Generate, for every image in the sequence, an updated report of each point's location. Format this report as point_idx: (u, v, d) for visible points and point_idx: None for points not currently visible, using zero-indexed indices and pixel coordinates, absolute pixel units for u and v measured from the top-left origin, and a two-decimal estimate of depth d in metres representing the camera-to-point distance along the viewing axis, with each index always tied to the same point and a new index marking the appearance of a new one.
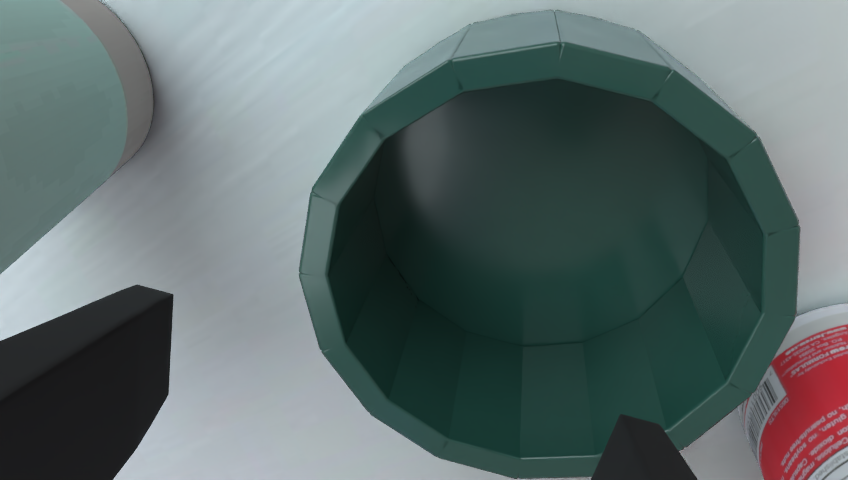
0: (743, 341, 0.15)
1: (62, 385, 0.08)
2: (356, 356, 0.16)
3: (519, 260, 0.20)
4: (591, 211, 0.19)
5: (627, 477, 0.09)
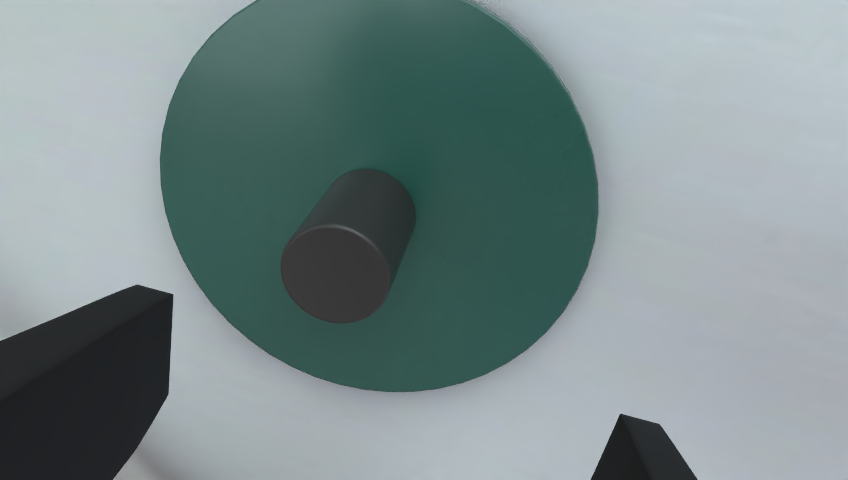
0: None
1: (62, 385, 0.08)
2: None
3: None
4: None
5: (627, 477, 0.09)
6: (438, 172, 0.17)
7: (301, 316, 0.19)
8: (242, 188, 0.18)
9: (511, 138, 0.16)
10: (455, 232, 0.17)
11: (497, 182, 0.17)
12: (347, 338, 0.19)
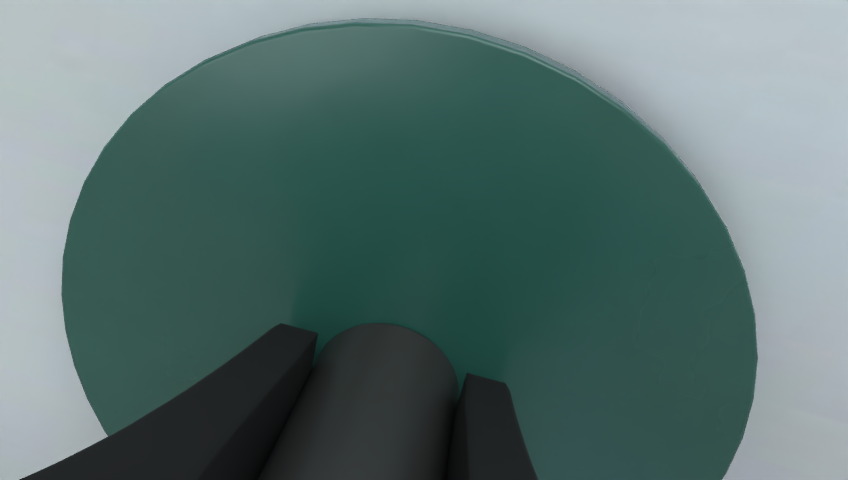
0: None
1: (247, 436, 0.08)
2: None
3: None
4: None
5: (457, 431, 0.09)
6: (497, 331, 0.10)
7: None
8: (189, 341, 0.11)
9: (621, 287, 0.10)
10: (520, 416, 0.11)
11: (592, 350, 0.10)
12: None
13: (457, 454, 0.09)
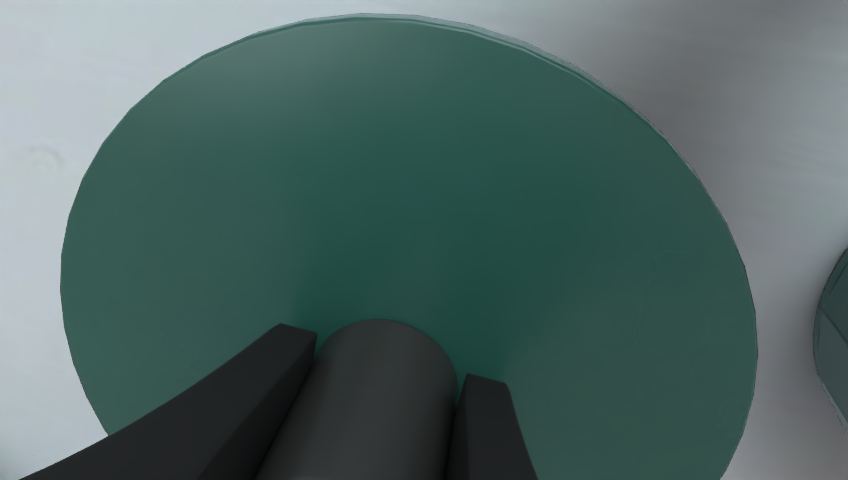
0: None
1: (247, 435, 0.08)
2: None
3: None
4: None
5: (457, 431, 0.09)
6: (497, 327, 0.10)
7: None
8: (188, 337, 0.11)
9: (620, 283, 0.10)
10: (519, 413, 0.11)
11: (592, 346, 0.10)
12: None
13: (457, 454, 0.09)
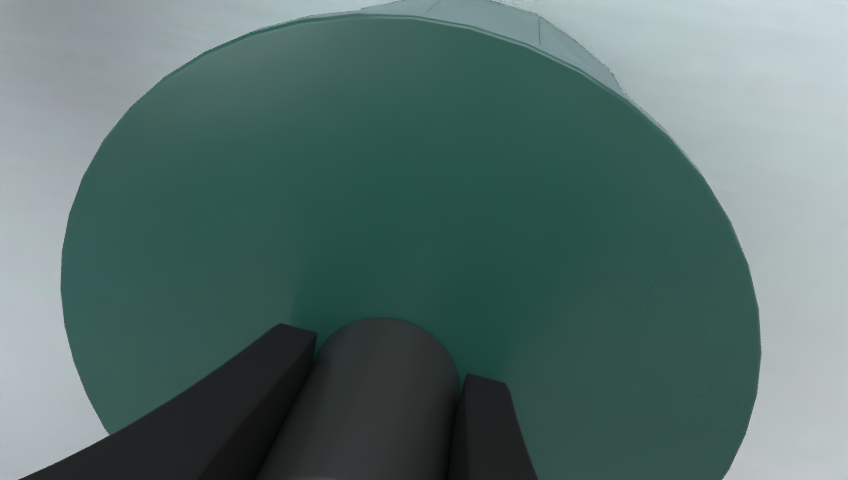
0: None
1: (247, 436, 0.08)
2: None
3: None
4: None
5: (457, 431, 0.09)
6: (499, 326, 0.10)
7: None
8: (189, 336, 0.11)
9: (623, 281, 0.10)
10: (522, 411, 0.11)
11: (595, 344, 0.10)
12: None
13: (457, 454, 0.09)
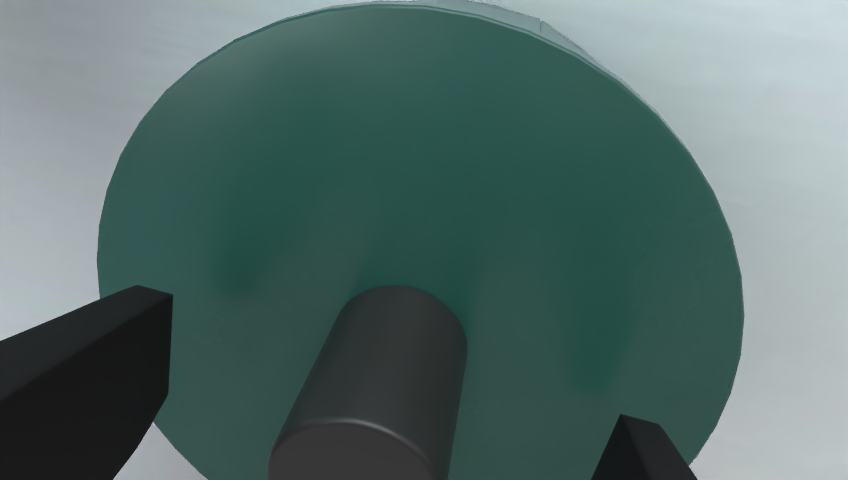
0: None
1: (62, 385, 0.08)
2: None
3: None
4: None
5: (627, 477, 0.09)
6: (503, 292, 0.11)
7: None
8: (216, 304, 0.12)
9: (617, 249, 0.11)
10: (524, 373, 0.12)
11: (591, 309, 0.11)
12: None
13: None
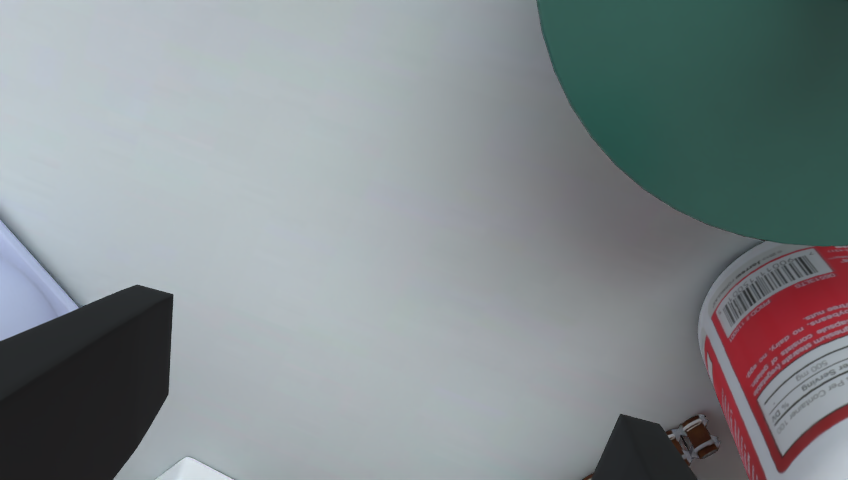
0: None
1: (62, 385, 0.08)
2: None
3: None
4: None
5: (627, 477, 0.09)
6: None
7: (717, 123, 0.12)
8: None
9: None
10: None
11: None
12: (783, 158, 0.13)
13: None
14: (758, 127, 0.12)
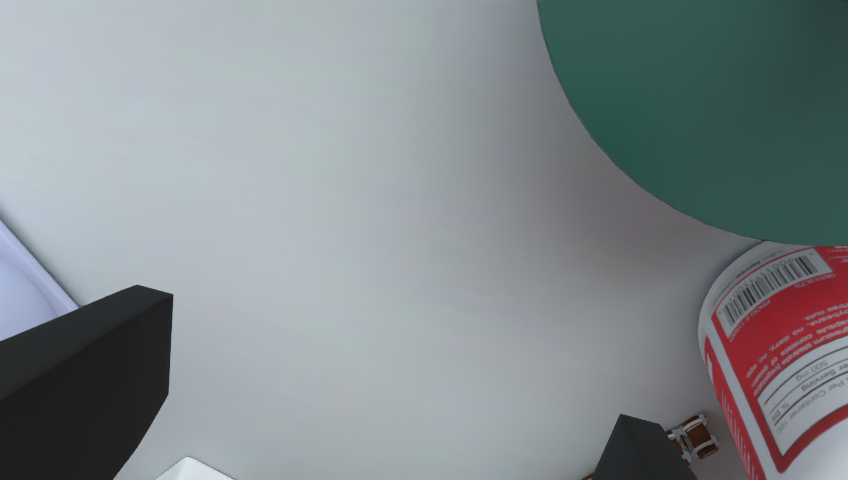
0: None
1: (62, 385, 0.08)
2: None
3: None
4: None
5: (627, 477, 0.09)
6: None
7: (717, 123, 0.12)
8: None
9: None
10: None
11: None
12: (783, 158, 0.13)
13: None
14: (758, 127, 0.12)
